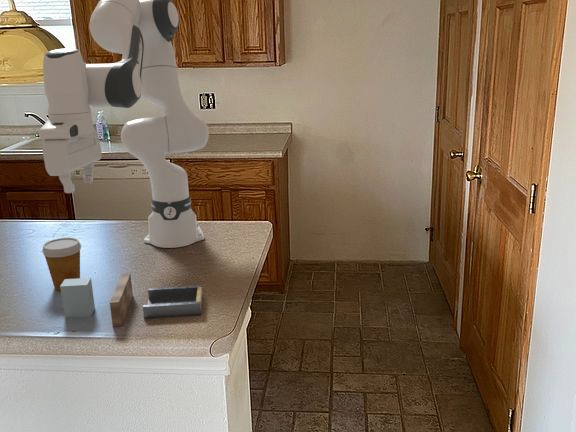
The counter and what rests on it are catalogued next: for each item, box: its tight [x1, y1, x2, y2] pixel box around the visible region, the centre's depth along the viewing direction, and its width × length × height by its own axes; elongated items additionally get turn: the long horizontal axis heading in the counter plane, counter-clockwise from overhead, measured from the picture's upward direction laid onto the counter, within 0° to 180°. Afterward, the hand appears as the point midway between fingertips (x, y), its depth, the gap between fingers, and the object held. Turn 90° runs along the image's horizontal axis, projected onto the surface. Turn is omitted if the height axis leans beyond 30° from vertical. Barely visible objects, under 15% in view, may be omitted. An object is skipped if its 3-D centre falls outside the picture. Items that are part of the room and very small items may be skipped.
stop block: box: [60, 277, 96, 319], centre depth 134 cm, size 4×6×8 cm, turn 96°
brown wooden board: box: [109, 273, 134, 328], centre depth 136 cm, size 16×2×6 cm, turn 6°
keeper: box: [142, 285, 204, 320], centre depth 137 cm, size 10×13×3 cm
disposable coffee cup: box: [41, 237, 82, 292], centre depth 148 cm, size 10×10×12 cm
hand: (79, 187), depth 129 cm, fingers open, 8 cm apart
